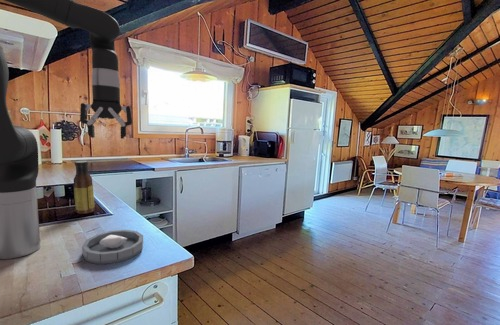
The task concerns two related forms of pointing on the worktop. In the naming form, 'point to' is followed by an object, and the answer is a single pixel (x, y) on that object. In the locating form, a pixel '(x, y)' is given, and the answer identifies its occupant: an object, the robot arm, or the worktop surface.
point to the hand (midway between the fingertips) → (107, 138)
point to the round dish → (112, 255)
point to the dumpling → (113, 241)
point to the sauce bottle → (83, 189)
